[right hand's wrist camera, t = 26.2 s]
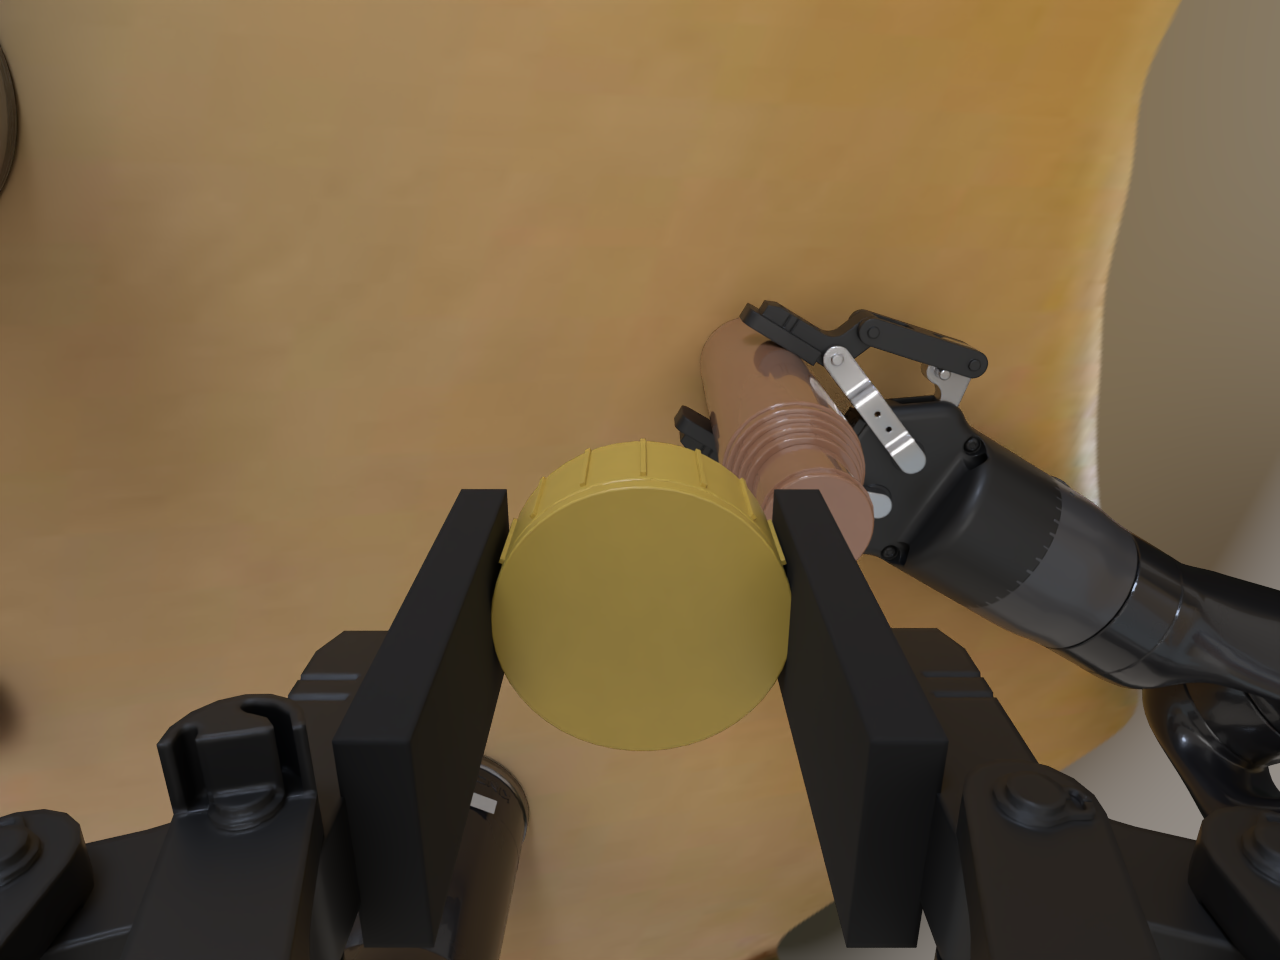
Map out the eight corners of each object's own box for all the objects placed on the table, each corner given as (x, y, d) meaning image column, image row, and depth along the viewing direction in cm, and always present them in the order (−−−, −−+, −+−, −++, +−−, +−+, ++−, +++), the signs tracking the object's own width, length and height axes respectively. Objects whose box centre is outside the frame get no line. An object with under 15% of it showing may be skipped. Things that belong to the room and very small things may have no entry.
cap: (606, 719, 16) (603, 797, 14) (453, 530, 15) (426, 589, 13) (824, 598, 15) (851, 665, 13) (683, 385, 14) (690, 424, 12)
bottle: (681, 356, 46) (699, 515, 25) (756, 296, 44) (839, 413, 24) (737, 426, 47) (798, 630, 27) (812, 370, 46) (935, 538, 26)
